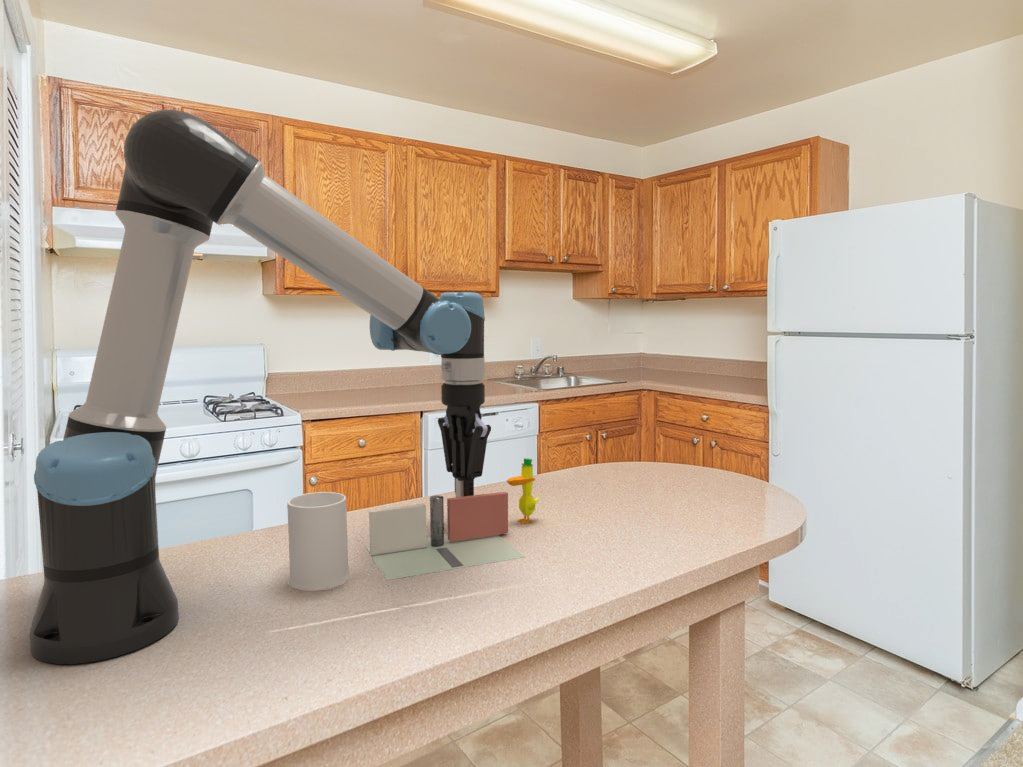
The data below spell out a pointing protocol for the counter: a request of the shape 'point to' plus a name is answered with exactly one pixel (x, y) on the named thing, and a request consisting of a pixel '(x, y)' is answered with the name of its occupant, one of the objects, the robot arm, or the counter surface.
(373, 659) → the counter surface
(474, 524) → the red panel
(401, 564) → the card
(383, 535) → the fixed panel
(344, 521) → the mug
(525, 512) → the toy figure
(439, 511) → the post
